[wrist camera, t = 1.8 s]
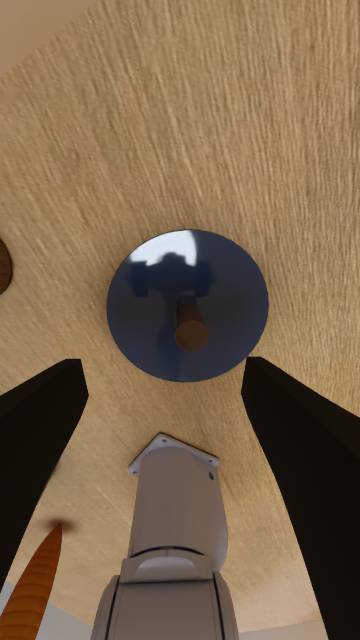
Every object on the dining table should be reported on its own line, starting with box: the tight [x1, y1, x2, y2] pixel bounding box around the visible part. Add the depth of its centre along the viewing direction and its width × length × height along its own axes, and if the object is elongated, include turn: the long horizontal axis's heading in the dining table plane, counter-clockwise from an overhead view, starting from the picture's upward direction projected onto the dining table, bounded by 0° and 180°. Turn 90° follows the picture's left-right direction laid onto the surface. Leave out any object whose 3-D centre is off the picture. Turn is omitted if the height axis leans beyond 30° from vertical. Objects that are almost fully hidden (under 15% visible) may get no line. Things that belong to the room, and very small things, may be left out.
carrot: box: [0, 524, 62, 640], centre depth 23 cm, size 5×5×15 cm
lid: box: [107, 230, 269, 382], centre depth 15 cm, size 14×14×5 cm
